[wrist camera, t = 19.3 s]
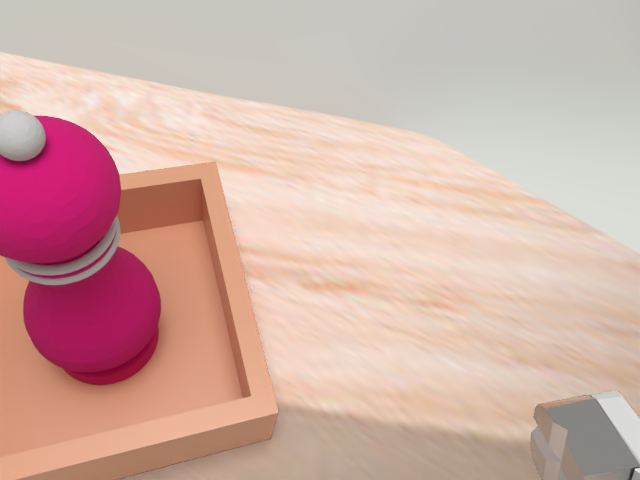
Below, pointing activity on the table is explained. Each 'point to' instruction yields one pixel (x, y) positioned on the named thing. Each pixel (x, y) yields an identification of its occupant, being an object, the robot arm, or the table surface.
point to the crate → (166, 362)
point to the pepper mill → (73, 251)
